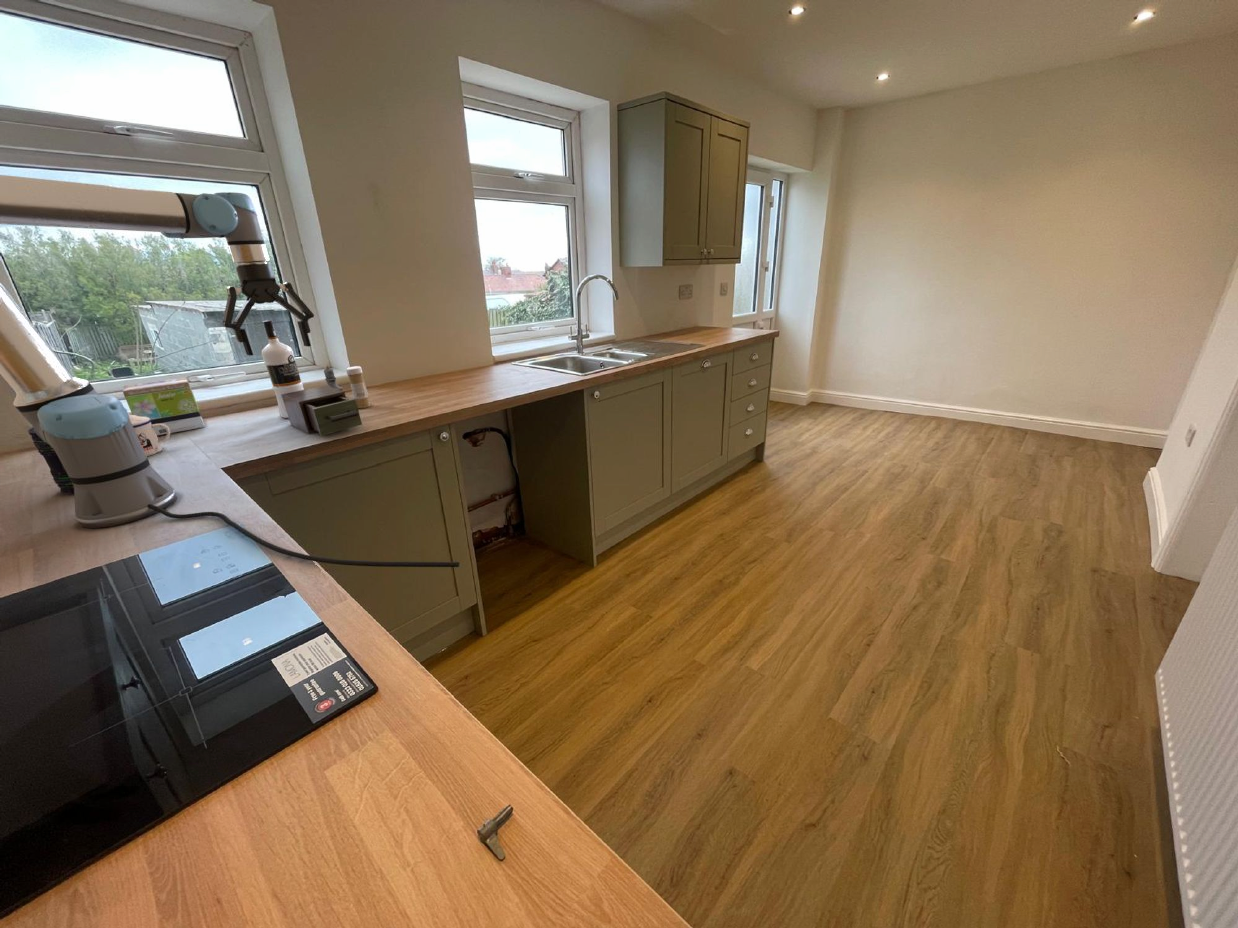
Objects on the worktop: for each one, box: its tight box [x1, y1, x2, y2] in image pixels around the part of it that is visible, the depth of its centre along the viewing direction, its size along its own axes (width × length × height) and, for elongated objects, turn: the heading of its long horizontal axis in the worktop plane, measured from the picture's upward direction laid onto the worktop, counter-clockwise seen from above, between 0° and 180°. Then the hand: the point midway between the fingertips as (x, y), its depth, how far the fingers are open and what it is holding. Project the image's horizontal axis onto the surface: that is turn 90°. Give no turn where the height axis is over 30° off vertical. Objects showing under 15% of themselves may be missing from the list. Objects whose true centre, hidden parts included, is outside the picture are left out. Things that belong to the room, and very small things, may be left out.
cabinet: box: [281, 384, 347, 435], centre depth 152 cm, size 15×13×10 cm
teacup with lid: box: [128, 412, 171, 457], centre depth 134 cm, size 12×9×12 cm
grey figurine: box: [323, 365, 343, 391], centre depth 179 cm, size 6×6×12 cm
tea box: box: [122, 376, 205, 436], centre depth 152 cm, size 15×10×15 cm, turn 131°
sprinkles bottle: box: [345, 365, 371, 409], centre depth 167 cm, size 5×5×14 cm
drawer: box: [303, 396, 363, 436], centre depth 145 cm, size 18×11×8 cm, turn 49°
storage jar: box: [27, 427, 74, 496], centre depth 114 cm, size 10×10×15 cm
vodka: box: [261, 319, 305, 419], centre depth 158 cm, size 9×9×30 cm
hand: (279, 350), depth 132 cm, fingers open, 13 cm apart
